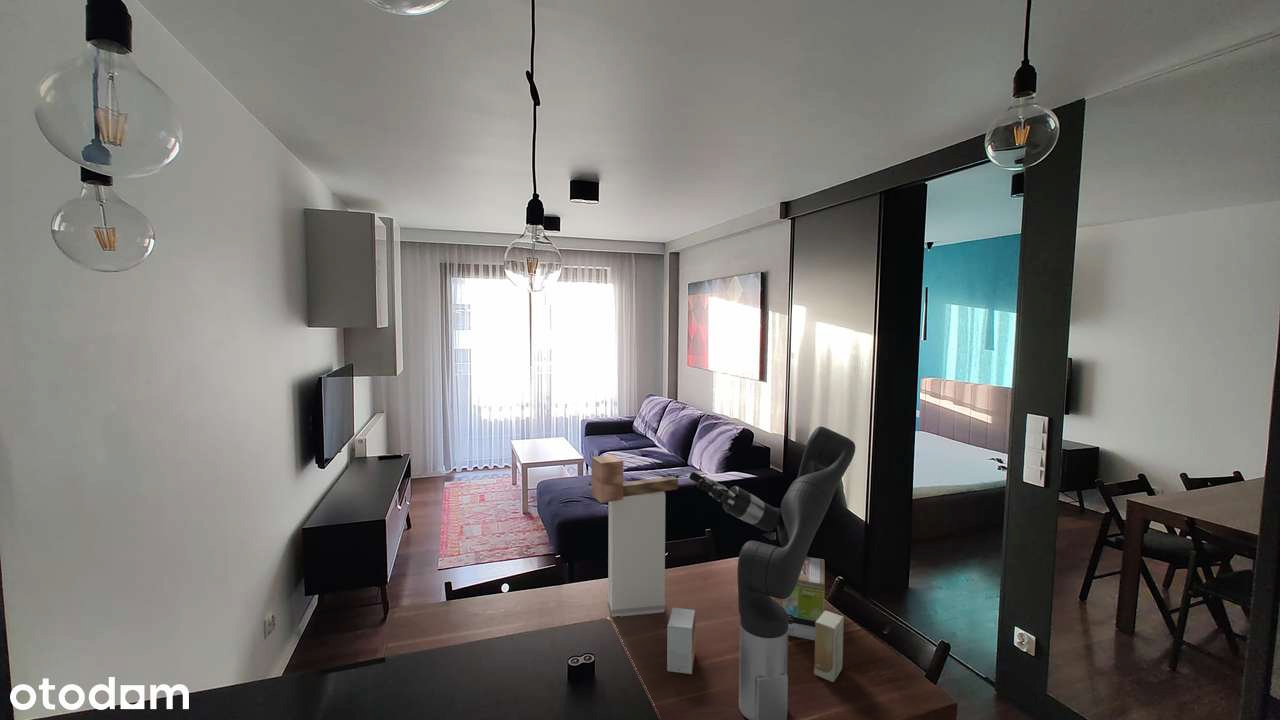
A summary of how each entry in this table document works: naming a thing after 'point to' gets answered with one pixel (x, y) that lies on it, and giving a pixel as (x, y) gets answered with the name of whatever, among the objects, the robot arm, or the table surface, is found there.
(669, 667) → the small box
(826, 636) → the skincare box
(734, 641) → the table surface
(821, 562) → the green coffee box
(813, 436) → the robot arm
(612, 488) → the mallet
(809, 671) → the table surface
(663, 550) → the pedestal
